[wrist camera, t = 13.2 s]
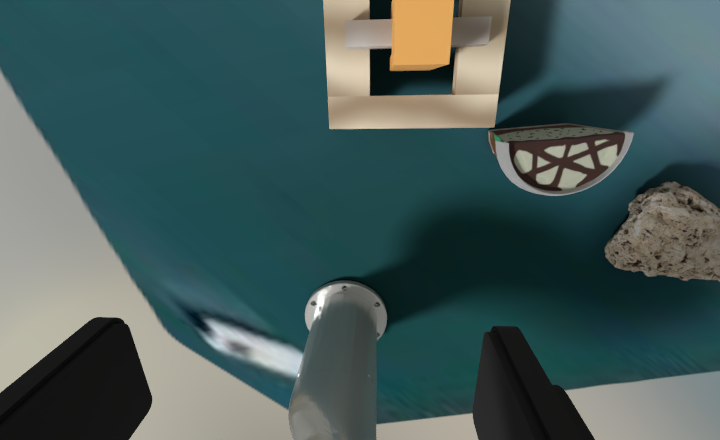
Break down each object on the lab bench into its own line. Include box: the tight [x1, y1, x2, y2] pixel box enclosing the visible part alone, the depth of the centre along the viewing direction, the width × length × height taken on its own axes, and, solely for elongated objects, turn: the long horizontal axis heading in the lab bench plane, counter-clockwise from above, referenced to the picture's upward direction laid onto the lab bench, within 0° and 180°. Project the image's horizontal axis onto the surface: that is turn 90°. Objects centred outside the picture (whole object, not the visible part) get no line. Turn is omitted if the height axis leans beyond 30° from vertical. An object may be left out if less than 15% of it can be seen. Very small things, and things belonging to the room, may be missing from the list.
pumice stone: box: [605, 181, 720, 282], centre depth 41 cm, size 14×12×8 cm
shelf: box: [323, 0, 511, 129], centre depth 33 cm, size 16×16×11 cm
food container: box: [487, 123, 634, 196], centre depth 37 cm, size 12×6×10 cm, turn 95°
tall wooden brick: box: [390, 0, 454, 71], centre depth 28 cm, size 5×4×10 cm
